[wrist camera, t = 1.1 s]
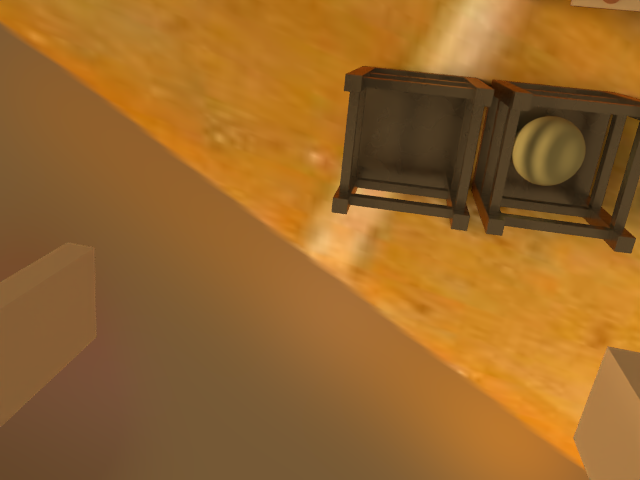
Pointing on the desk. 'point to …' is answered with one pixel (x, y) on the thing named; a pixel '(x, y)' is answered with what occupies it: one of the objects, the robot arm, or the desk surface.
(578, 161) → the ball sage
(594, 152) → the dark open frame crate
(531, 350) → the desk surface
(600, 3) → the card
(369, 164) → the wireframe cube
